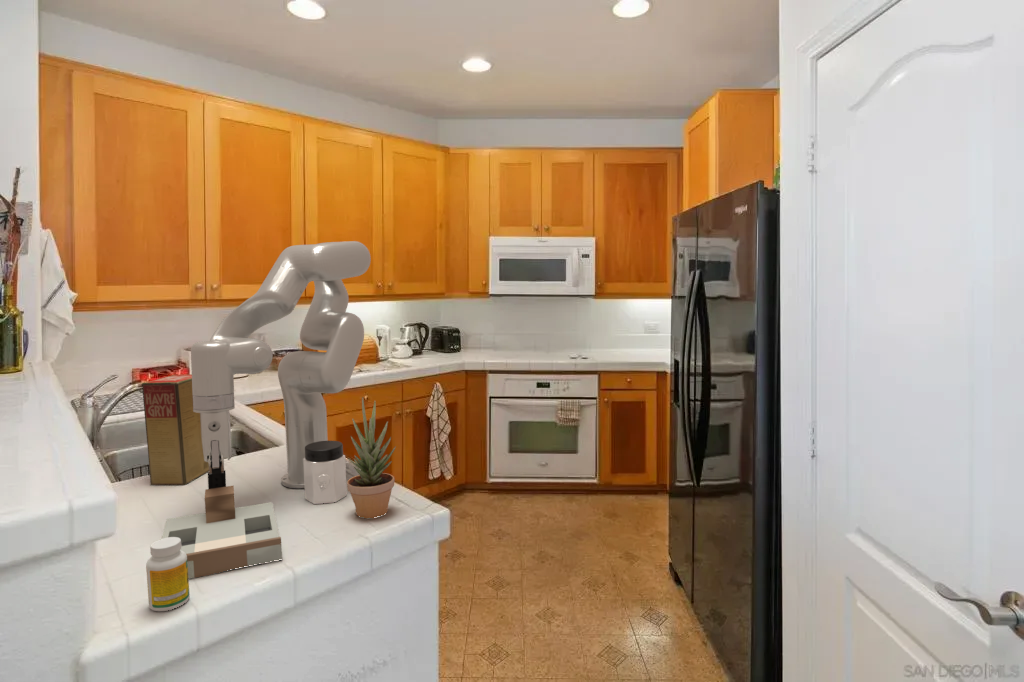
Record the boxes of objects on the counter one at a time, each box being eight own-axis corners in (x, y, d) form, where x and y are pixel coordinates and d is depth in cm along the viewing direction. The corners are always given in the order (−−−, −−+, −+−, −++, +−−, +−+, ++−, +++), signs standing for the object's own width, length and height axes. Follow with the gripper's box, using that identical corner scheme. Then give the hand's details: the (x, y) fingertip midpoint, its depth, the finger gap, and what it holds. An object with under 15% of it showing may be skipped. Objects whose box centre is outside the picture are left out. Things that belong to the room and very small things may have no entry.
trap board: (273, 516, 124) (272, 497, 123) (282, 560, 104) (280, 538, 103) (167, 533, 115) (166, 513, 115) (155, 585, 96) (153, 561, 95)
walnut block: (235, 509, 119) (233, 485, 119) (235, 518, 115) (233, 493, 114) (207, 514, 117) (205, 489, 117) (206, 523, 113) (204, 497, 112)
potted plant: (374, 501, 131) (370, 390, 129) (404, 510, 126) (401, 395, 123) (336, 516, 123) (331, 398, 120) (368, 527, 118) (363, 403, 115)
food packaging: (180, 468, 157) (173, 373, 154) (215, 468, 156) (209, 373, 154) (147, 485, 143) (139, 382, 141) (186, 485, 143) (178, 382, 140)
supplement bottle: (143, 605, 90) (138, 544, 89) (180, 590, 94) (175, 531, 93) (159, 616, 87) (154, 553, 86) (196, 600, 91) (192, 540, 90)
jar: (303, 506, 129) (300, 452, 128) (307, 493, 137) (304, 442, 136) (346, 502, 131) (343, 448, 130) (347, 489, 139) (345, 439, 138)
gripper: (234, 407, 115) (238, 500, 117) (233, 395, 129) (237, 478, 130) (190, 410, 112) (194, 505, 114) (194, 398, 126) (198, 483, 127)
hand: (217, 491), depth 122 cm, fingers closed
